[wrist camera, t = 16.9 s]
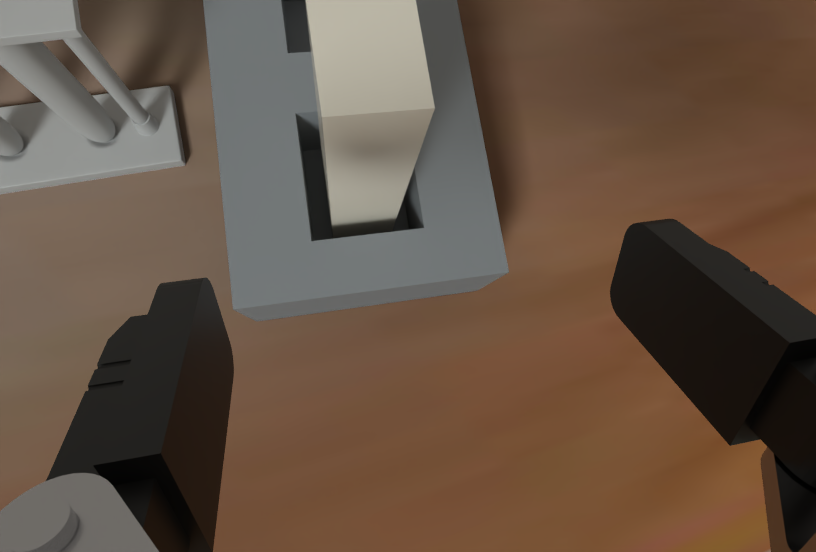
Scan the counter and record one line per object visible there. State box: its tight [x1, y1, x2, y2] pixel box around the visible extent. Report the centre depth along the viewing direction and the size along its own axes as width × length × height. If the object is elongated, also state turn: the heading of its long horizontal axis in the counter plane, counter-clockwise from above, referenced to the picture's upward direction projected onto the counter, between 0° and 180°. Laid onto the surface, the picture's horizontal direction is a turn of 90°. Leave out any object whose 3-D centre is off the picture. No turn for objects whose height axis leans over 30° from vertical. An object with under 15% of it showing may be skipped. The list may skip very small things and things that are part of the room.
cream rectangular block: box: [305, 0, 435, 239], centre depth 19 cm, size 3×4×13 cm
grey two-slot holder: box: [203, 0, 509, 321], centre depth 25 cm, size 12×20×6 cm, turn 9°
